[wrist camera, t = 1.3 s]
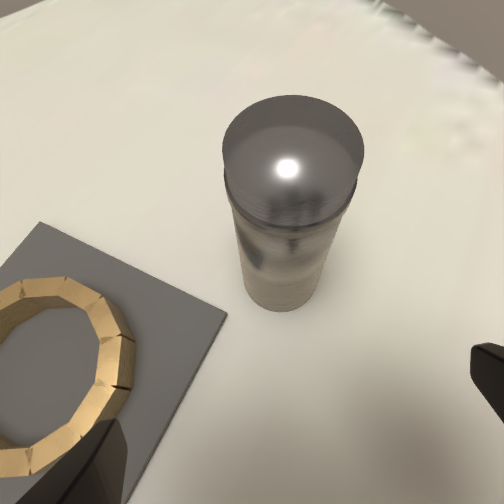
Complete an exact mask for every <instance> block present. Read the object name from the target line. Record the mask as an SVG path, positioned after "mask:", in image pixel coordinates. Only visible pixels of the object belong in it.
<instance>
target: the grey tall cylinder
mask: <svg viewBox="0 0 504 504" xmlns="http://www.w3.org/2000/svg"><path fill="white" fill-rule="evenodd" d="M222 153H223V160H224V166H225V167H224V181H225V187H226V193H227V197H228V200H229V203H230V205H231V207H232V213H233V219H234V225H235V231H236V237H237V243H238V248H239V254H240V260H241V266H242V272H243V278H244V284H245V287H246V290H247V292H248V294H249V296H250V297H251V298H252V300H253V301H254V302H255V303H257V304H258V305H259V306H261V307H263V308H265V309H267V310H270V311H275V312H286V311H291V310H294V309H296V308H298V307H300V306H302V305H303V304H304V303H305V302H306V301H307V300H308V299H309V298H310V297H311V295H312V293H313V291H314V289H315V286H316V283H317V281H318V278H319V275H320V273H321V270H322V268H323V265H324V262H325V260H326V257H327V255H328V252H329V249H330V247H331V244H332V242H333V239H334V236H335V234H336V231H337V229H338V226H339V223H340V221H341V218H342V216H343V215H344V213H345V212H346V210H347V208H348V207H349V204H350V202H351V199H352V197H353V194H354V192H355V189H356V185H357V176H358V174H359V171H360V169H361V166H362V163H363V158H364V143H363V139H362V136H361V133H360V131H359V129H358V127H357V126H356V125H355V123H354V122H353V120H352V119H351V118H350V117H349V116H348V115H347V114H345V113H344V112H343V111H342V110H340V109H339V108H337V107H336V106H334V105H332V104H330V103H328V102H325V101H323V100H320V99H317V98H313V97H308V96H300V95H284V96H276V97H272V98H268V99H265V100H262V101H259V102H257V103H255V104H253V105H251V106H249V107H247V108H246V109H245V110H243V111H242V112H241V113H240V114H239V115H237V116H236V117H235V119H234V120H233V121H232V122H231V124H230V125H229V127H228V129H227V131H226V133H225V136H224V139H223V146H222Z"/></svg>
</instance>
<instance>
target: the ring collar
mask: <svg viewBox="0 0 504 504" xmlns="http://www.w3.org/2000/svg"><path fill="white" fill-rule="evenodd" d="M72 307H79V308H81V309H83V310H85V311H86V312H87V314H88V316H89V318H90V321H91V323H92V325H93V327H94V329H95V332H96V334H97V336H98V338H99V340H100V346H99V354H98V362H97V370H96V378H95V383H94V384H93V386H92V387H91V389H90V390H89V392H88V394H87V395H86V397H85V398H84V400H83V401H82V403H81V404H80V406H79V408H78V409H77V411H76V412H75V414H74V415H73V417H72V418H71V420H70V422H68V423H67V424H65V425H64V426H62V427H61V428H59V429H57V430H56V431H54V432H53V433H51V434H50V435H48V436H47V437H45V438H44V439H42V440H41V441H39V442H37V443H36V444H34V445H33V446H18V445H16V444H15V443H13V442H12V441H11V440H9V439H8V438H6V437H5V436H3V435H2V434H0V478H3V477H18V476H30V475H34V474H37V473H41V472H45V471H48V470H50V469H51V468H52V467H53V466H54V465H55V464H56V463H57V462H58V461H59V460H60V459H61V458H62V457H63V456H64V455H65V454H66V453H67V452H68V451H69V450H70V449H71V448H72V447H73V446H74V445H75V444H76V443H77V442H78V441H79V440H80V439H81V438H82V437H83V436H84V435H85V434H86V433H87V432H88V431H89V430H90V429H91V428H92V427H93V426H94V425H96V424H97V423H98V422H99V421H101V420H105V419H110V418H116V417H117V416H118V414H119V412H120V411H121V409H122V407H123V406H124V404H125V402H126V401H127V399H128V397H129V396H130V394H131V392H132V391H131V390H129V389H128V388H133V383H134V371H135V358H136V346H137V344H136V343H134V342H136V340H135V338H134V336H133V334H132V332H131V330H130V328H129V326H128V324H127V322H126V320H125V318H124V316H123V314H122V312H121V310H120V308H119V307H118V306H116V305H115V304H114V303H112V302H111V301H109V300H108V299H107V298H105V297H104V296H103V295H101V294H99V293H97V292H95V291H93V290H92V289H90V288H88V287H86V286H84V285H82V284H80V283H78V282H76V281H74V280H72V279H71V278H69V277H51V278H36V279H23V282H22V281H21V280H20V281H18V282H16V283H14V284H12V285H11V286H9V287H7V288H5V289H3V290H1V291H0V346H1V345H2V343H3V342H4V341H5V339H6V338H7V337H8V336H9V334H10V333H11V332H12V330H13V329H14V328H15V327H16V326H18V325H20V324H21V323H23V322H25V321H27V320H28V319H30V318H32V317H34V316H35V315H37V314H39V313H41V312H42V311H44V310H46V309H57V308H72Z"/></svg>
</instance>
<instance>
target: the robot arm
mask: <svg viewBox="0 0 504 504" xmlns="http://www.w3.org/2000/svg"><path fill="white" fill-rule="evenodd" d="M470 375H471V378H472V380H473V382H474V384H475V385H476V386H477V388H478V389H479V390H480V392H481V393H482V395H483V396H484V397H485V399H486V400H487V401H488V403H489V404H490V405H491V407H492V408H493V409H494V411H495V412H496V414H497V415H498V416H499V418H500V419H501V420H502V422H503V423H504V347H503V346H500V345H497V344H493V343H482V344H477V345H474V346H473V347H472V348H471V359H470ZM127 456H128V446H127V442H126V439H125V436H124V433H123V430H122V427H121V424H120V422H119V420H118V419H117V418H110V419H105V420H101V421H99V422H98V423H97V424H96V425H94V426H93V427H92V428H91V429H90V430H89V431H88V432H87V433H86V434H85V435H84V436H83V437H82V438H81V439H80V440H79V441H78V442H77V443H76V444H75V445H74V446H73V447H72V448H71V449H70V450H69V451H68V452H67V453H66V454H65V455H64V456H63V457H62V458H61V459H60V460H59V461H58V462H57V463H56V464H55V465H54V466H53V467H52V468H51V469H50V470H48V471H47V472H46V473H45V474H44V475H43V476H42V477H41V478H40V479H39V480H38V481H37V482H36V483H35V484H34V485H33V486H32V487H31V488H30V489H29V490H28V491H27V492H26V493H25V494H24V495H23V496H22V497H21V498H20V499H19V500H18V501H17V502H16V503H15V504H121V499H122V492H123V485H124V477H125V470H126V463H127Z"/></svg>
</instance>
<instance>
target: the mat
mask: <svg viewBox="0 0 504 504" xmlns="http://www.w3.org/2000/svg"><path fill="white" fill-rule="evenodd" d="M51 277H69V278H71V279H72V280H74V281H76V282H78V283H80V284H82V285H84V286H86V287H88V288H90V289H92V290H93V291H95V292H97V293H99V294H101V295H103V296H104V297H105V298H107V299H108V300H109V301H111V302H112V303H114V304H115V305H116V306H118V307H119V308H120V310H121V312H122V314H123V316H124V318H125V320H126V322H127V324H128V326H129V328H130V330H131V332H132V334H133V336H134V338H135V340H136V342H134V343H136V344H137V346H136V358H135V371H134V383H133V388H128V389H129V390H131V391H132V392H131V394H130V396H129V397H128V399H127V401H126V402H125V404H124V406H123V407H122V409H121V411H120V412H119V414H118V416H117V417H116V418H117V419H118V420H119V422H120V424H121V427H122V430H123V433H124V436H125V439H126V442H127V446H128V456H127V463H126V470H125V477H124V485H123V492H122V499H121V504H126V503H127V501H128V499H129V498H130V496H131V494H132V492H133V490H134V488H135V486H136V484H137V483H138V481H139V479H140V477H141V475H142V473H143V471H144V470H145V468H146V466H147V464H148V462H149V460H150V458H151V456H152V455H153V453H154V451H155V449H156V447H157V445H158V443H159V442H160V440H161V438H162V436H163V434H164V432H165V430H166V429H167V427H168V425H169V423H170V421H171V419H172V417H173V415H174V414H175V412H176V410H177V408H178V406H179V404H180V402H181V401H182V399H183V397H184V395H185V393H186V391H187V389H188V387H189V386H190V384H191V382H192V380H193V378H194V376H195V374H196V373H197V371H198V369H199V367H200V365H201V363H202V361H203V359H204V358H205V356H206V354H207V352H208V350H209V348H210V346H211V345H212V343H213V341H214V339H215V337H216V335H217V333H218V331H219V330H220V328H221V326H222V324H223V322H224V320H225V318H226V317H227V313H226V312H224V311H222V310H220V309H218V308H216V307H214V306H212V305H210V304H208V303H206V302H203V301H201V300H199V299H197V298H195V297H193V296H191V295H189V294H187V293H185V292H183V291H181V290H179V289H177V288H175V287H173V286H171V285H169V284H167V283H165V282H163V281H161V280H159V279H157V278H155V277H152V276H150V275H148V274H146V273H144V272H142V271H140V270H138V269H136V268H134V267H132V266H130V265H128V264H126V263H124V262H122V261H120V260H118V259H116V258H114V257H112V256H110V255H108V254H106V253H104V252H101V251H99V250H97V249H95V248H93V247H91V246H89V245H87V244H85V243H83V242H81V241H79V240H77V239H75V238H73V237H71V236H69V235H67V234H65V233H63V232H61V231H59V230H57V229H55V228H53V227H51V226H48V225H46V224H44V223H42V222H39V223H38V224H37V225H36V226H35V228H34V229H33V230H32V231H31V232H30V233H29V235H28V236H27V237H26V238H25V239H24V240H23V242H22V243H21V244H20V245H19V246H18V247H17V249H16V250H15V251H14V252H13V253H12V254H11V256H10V257H9V258H8V259H7V260H6V261H5V263H4V264H3V265H2V266H1V267H0V291H1V290H3V289H5V288H7V287H9V286H11V285H12V284H14V283H16V282H18V281H20V280H21V281H22V282H23V279H36V278H51ZM99 346H100V340H99V338H98V336H97V334H96V332H95V329H94V327H93V325H92V323H91V321H90V318H89V316H88V314H87V312H86V311H85V310H83V309H81V308H79V307H72V308H57V309H46V310H44V311H42V312H41V313H39V314H37V315H35V316H34V317H32V318H30V319H28V320H27V321H25V322H23V323H21V324H20V325H18V326H16V327H15V328H14V329H13V330H12V332H11V333H10V334H9V336H8V337H7V338H6V339H5V341H4V342H3V343H2V345H1V346H0V434H2V435H3V436H5V437H6V438H8V439H9V440H11V441H12V442H13V443H15V444H16V445H18V446H33V445H34V444H36V443H37V442H39V441H41V440H42V439H44V438H45V437H47V436H48V435H50V434H51V433H53V432H54V431H56V430H57V429H59V428H61V427H62V426H64V425H65V424H67V423H68V422H70V420H71V418H72V417H73V415H74V414H75V412H76V411H77V409H78V408H79V406H80V404H81V403H82V401H83V400H84V398H85V397H86V395H87V394H88V392H89V390H90V389H91V387H92V386H93V384H94V383H95V378H96V370H97V362H98V354H99ZM46 472H47V471H45V472H41V473H37V474H34V475H30V476H18V477H3V478H0V504H15V503H16V502H17V501H18V500H19V499H20V498H21V497H22V496H23V495H24V494H25V493H26V492H27V491H28V490H29V489H30V488H31V487H32V486H33V485H34V484H35V483H36V482H37V481H38V480H39V479H40V478H41V477H42V476H43V475H44V474H45V473H46Z"/></svg>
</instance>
